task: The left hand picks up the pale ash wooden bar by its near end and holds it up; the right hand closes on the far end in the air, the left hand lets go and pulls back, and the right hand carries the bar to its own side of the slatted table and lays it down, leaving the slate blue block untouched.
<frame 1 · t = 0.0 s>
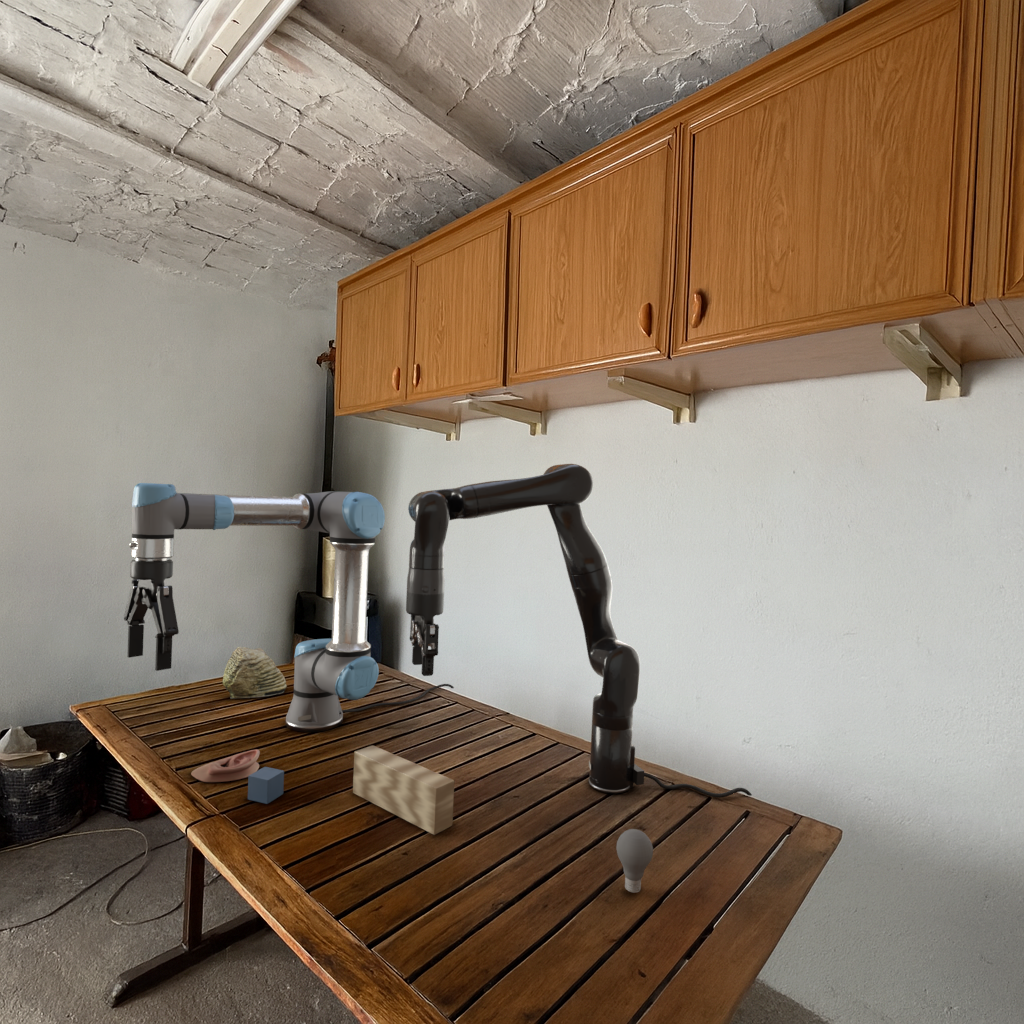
left hand: (148, 662, 129), 28 cm above the table, fingers open, 13 cm apart
right hand: (422, 669, 128), 29 cm above the table, fingers open, 8 cm apart
light bulb: (632, 891, 106), on the table
ash bar: (400, 808, 130), on the table
anatomical model: (225, 772, 143), on the table
fossil: (254, 694, 198), on the table
slate blue block: (265, 796, 133), on the table
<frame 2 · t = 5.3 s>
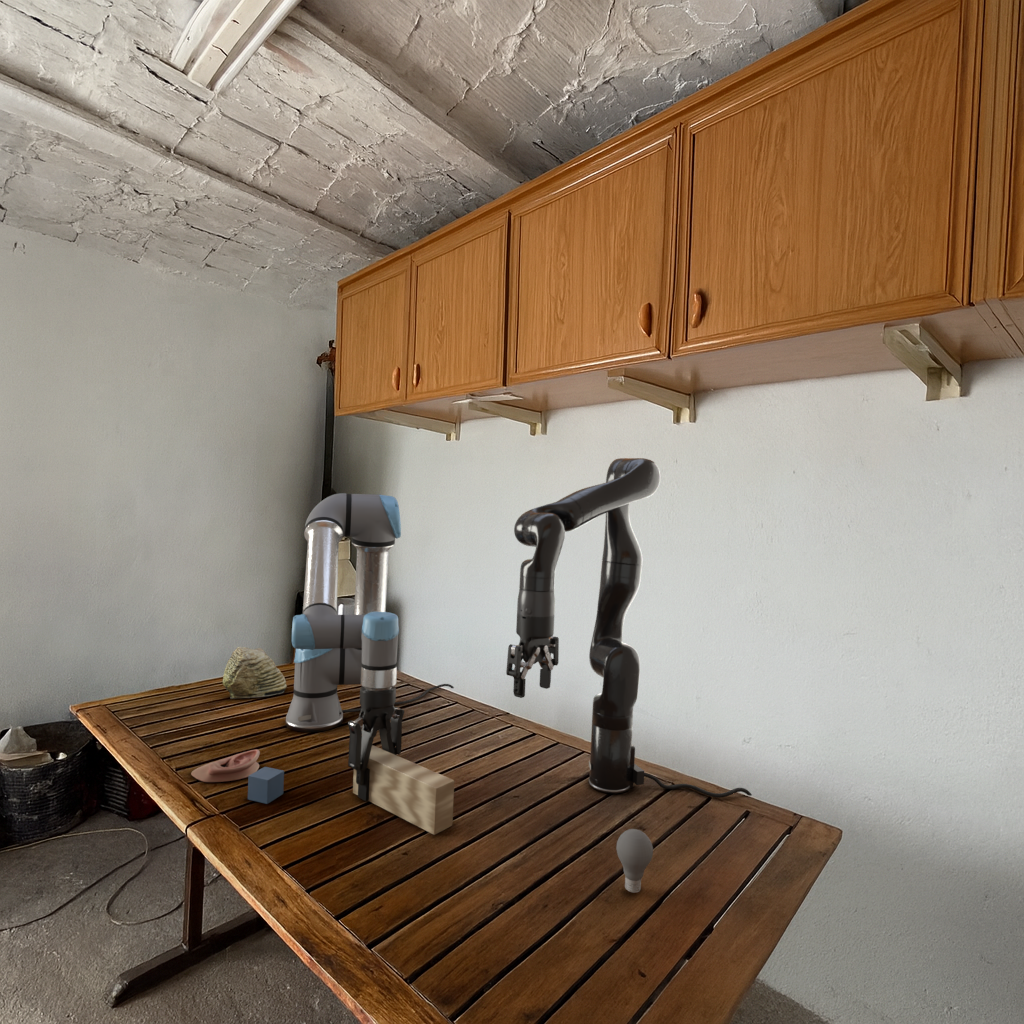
left hand: (374, 793, 136), 0 cm above the table, fingers closed on ash bar, 5 cm apart
right hand: (532, 692, 127), 26 cm above the table, fingers open, 8 cm apart
ash bar: (400, 808, 130), on the table, touching left hand
everything else where it was.
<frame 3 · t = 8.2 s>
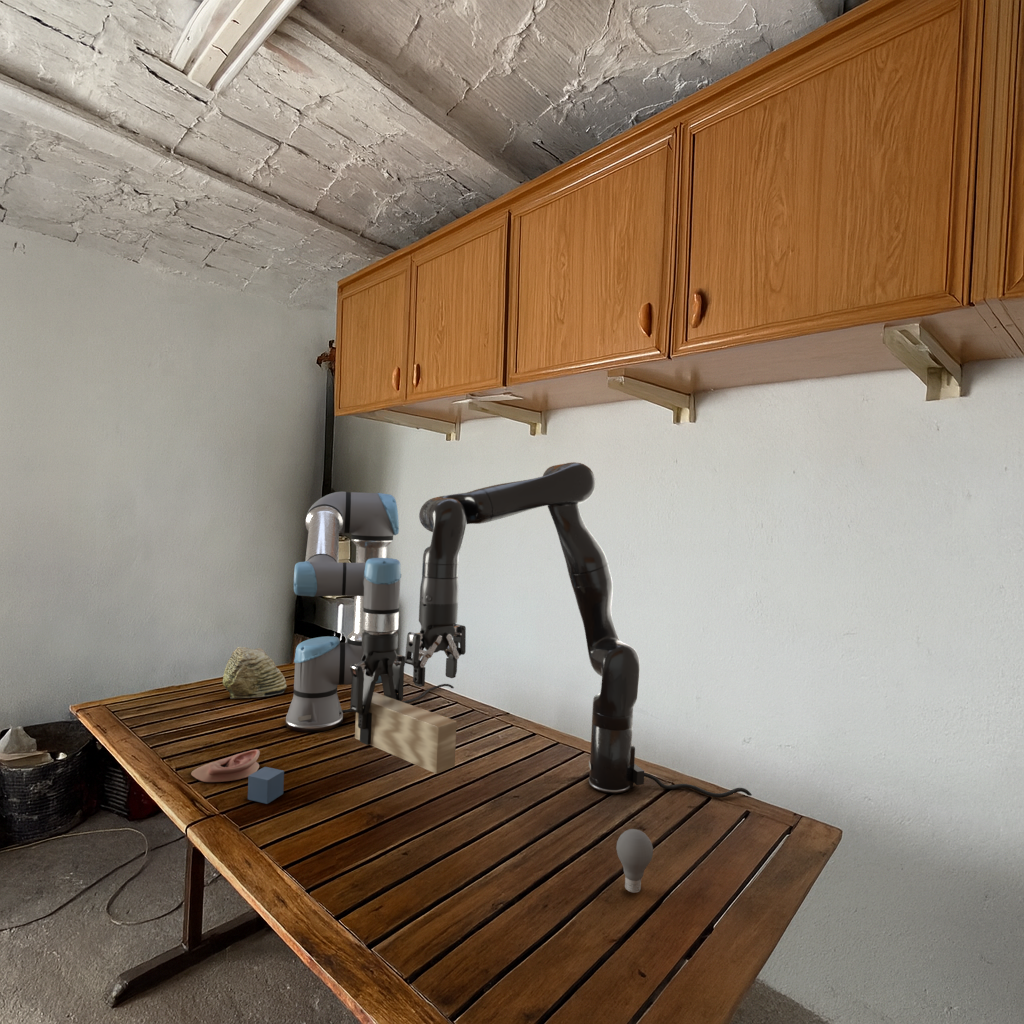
left hand: (376, 739, 135), 12 cm above the table, fingers closed on ash bar, 5 cm apart
right hand: (435, 681, 124), 28 cm above the table, fingers open, 8 cm apart
ash bar: (402, 751, 130), point 12 cm above the table, touching left hand
everything else where it was.
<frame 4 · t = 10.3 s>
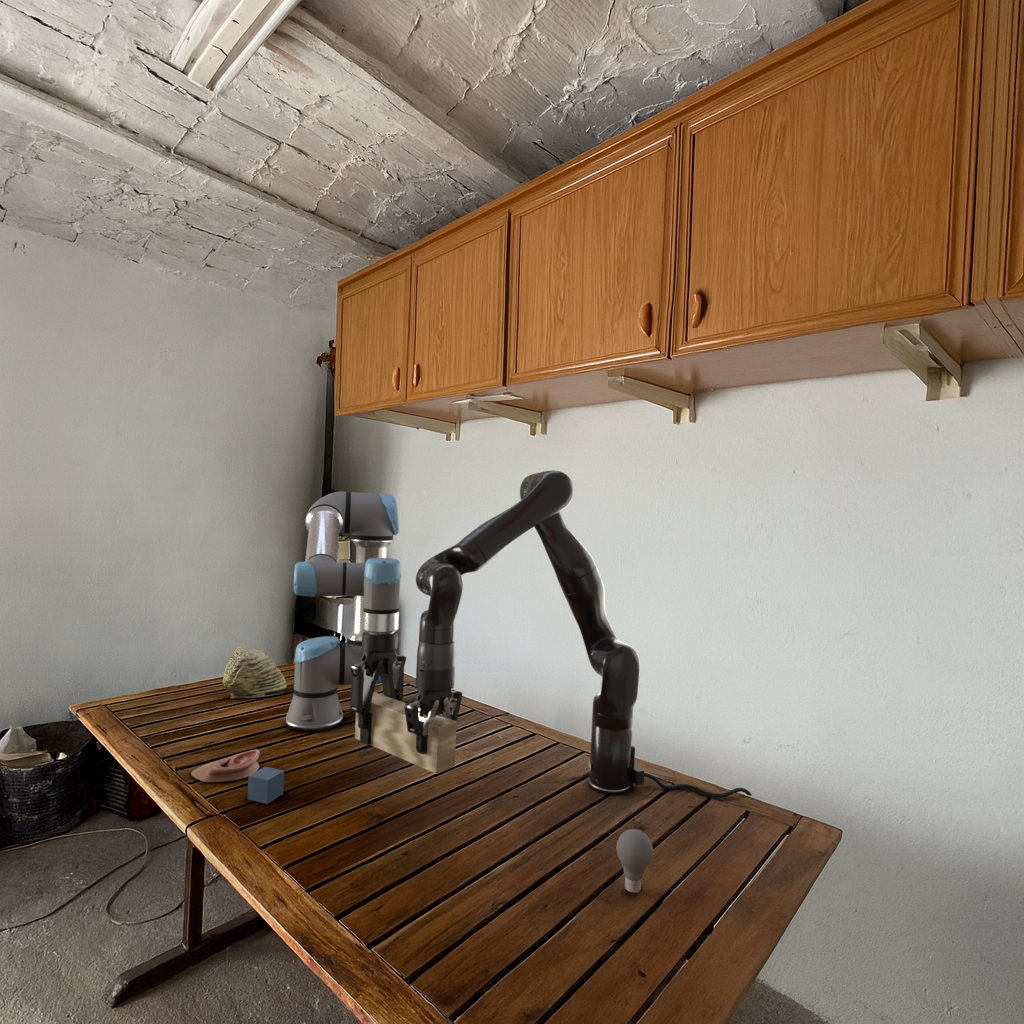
left hand: (376, 739, 135), 12 cm above the table, fingers closed on ash bar, 5 cm apart
right hand: (432, 748, 125), 15 cm above the table, fingers closed on ash bar, 5 cm apart
ash bar: (402, 751, 130), point 12 cm above the table, touching left hand, right hand
everything else where it was.
when the left hand's fingers open (12 cm above the table, at t = 11.2 s): ash bar stays where it is, held by the right hand.
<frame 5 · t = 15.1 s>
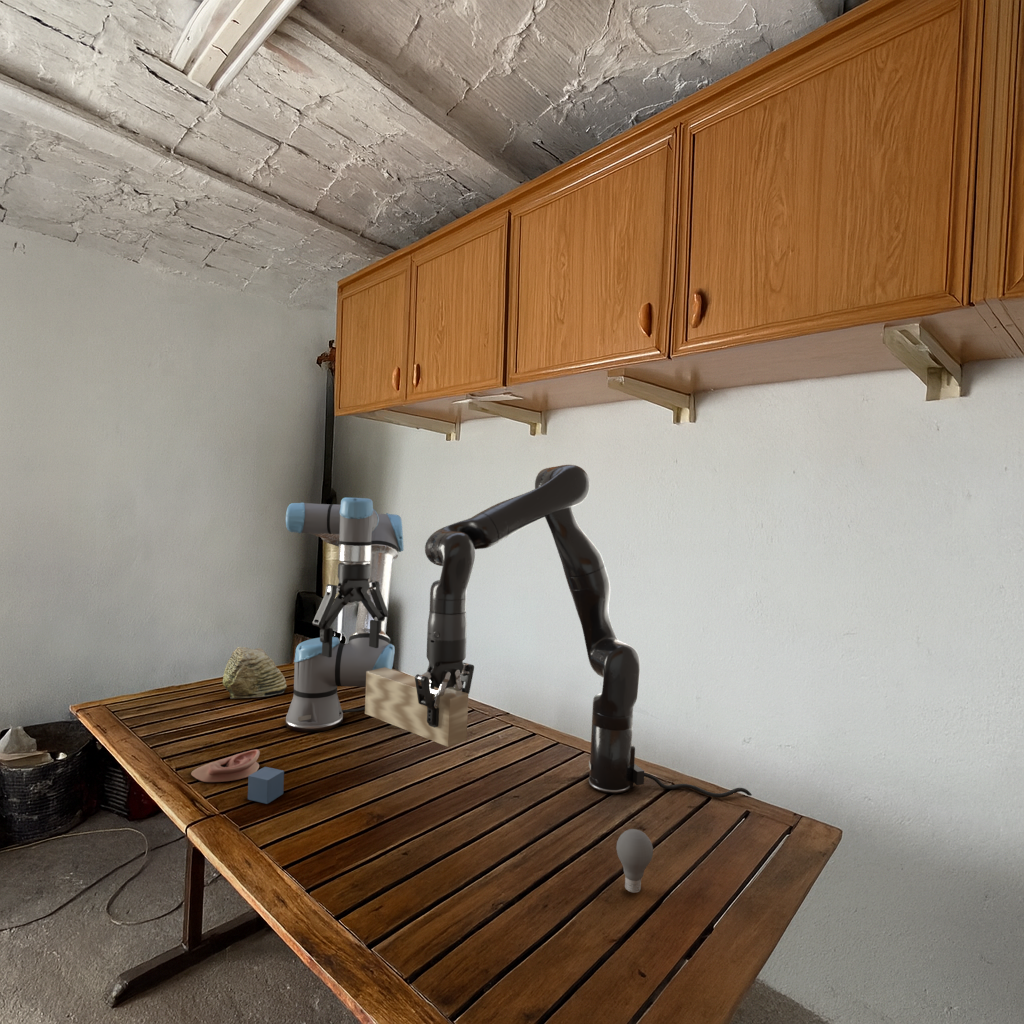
left hand: (351, 651, 151), 27 cm above the table, fingers open, 13 cm apart
right hand: (443, 722, 122), 21 cm above the table, fingers closed on ash bar, 5 cm apart
ash bar: (413, 726, 127), point 18 cm above the table, touching right hand
everything else where it was.
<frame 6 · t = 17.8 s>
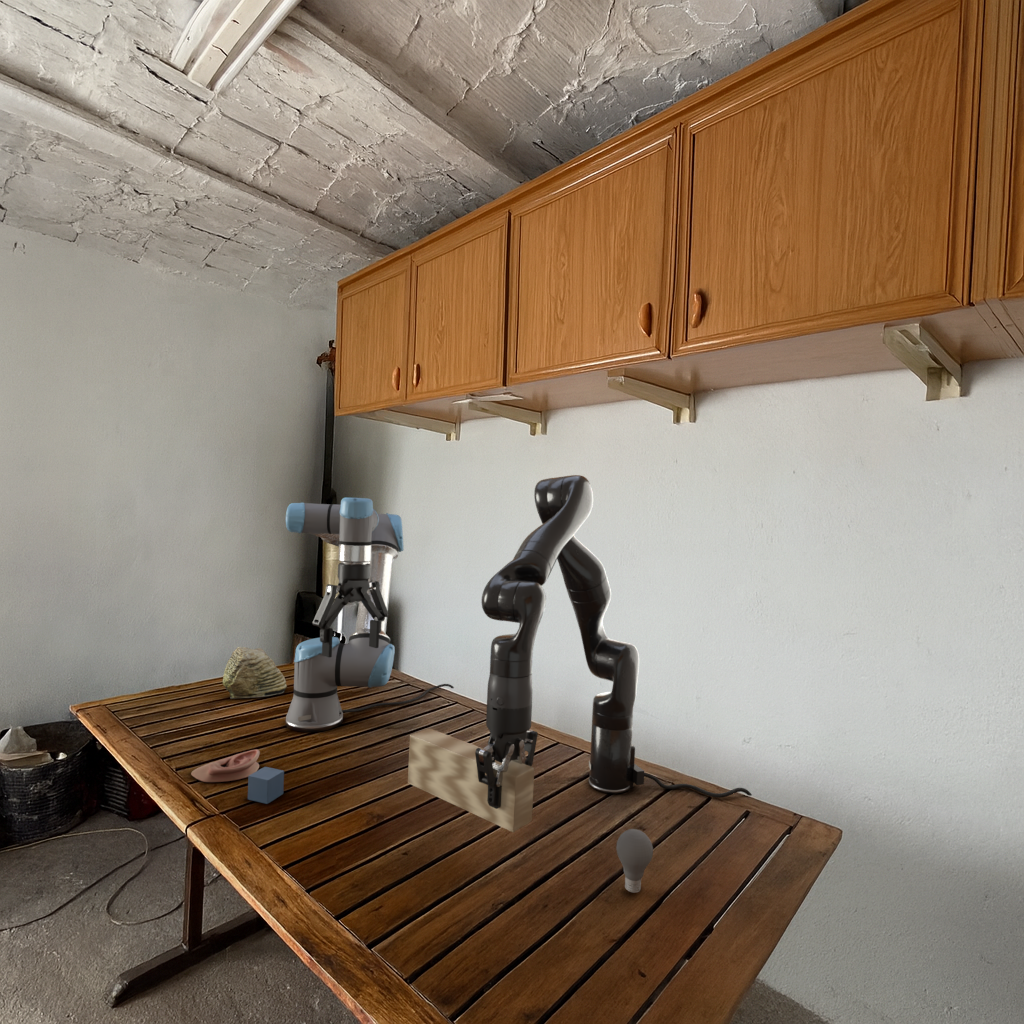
left hand: (351, 651, 151), 27 cm above the table, fingers open, 13 cm apart
right hand: (505, 800, 105), 14 cm above the table, fingers closed on ash bar, 5 cm apart
ash bar: (466, 801, 111), point 11 cm above the table, touching right hand
everything else where it was.
when the right hand's fingers open (4 cm above the table, at t = 20.0 s): ash bar drops 1 cm, on the table.
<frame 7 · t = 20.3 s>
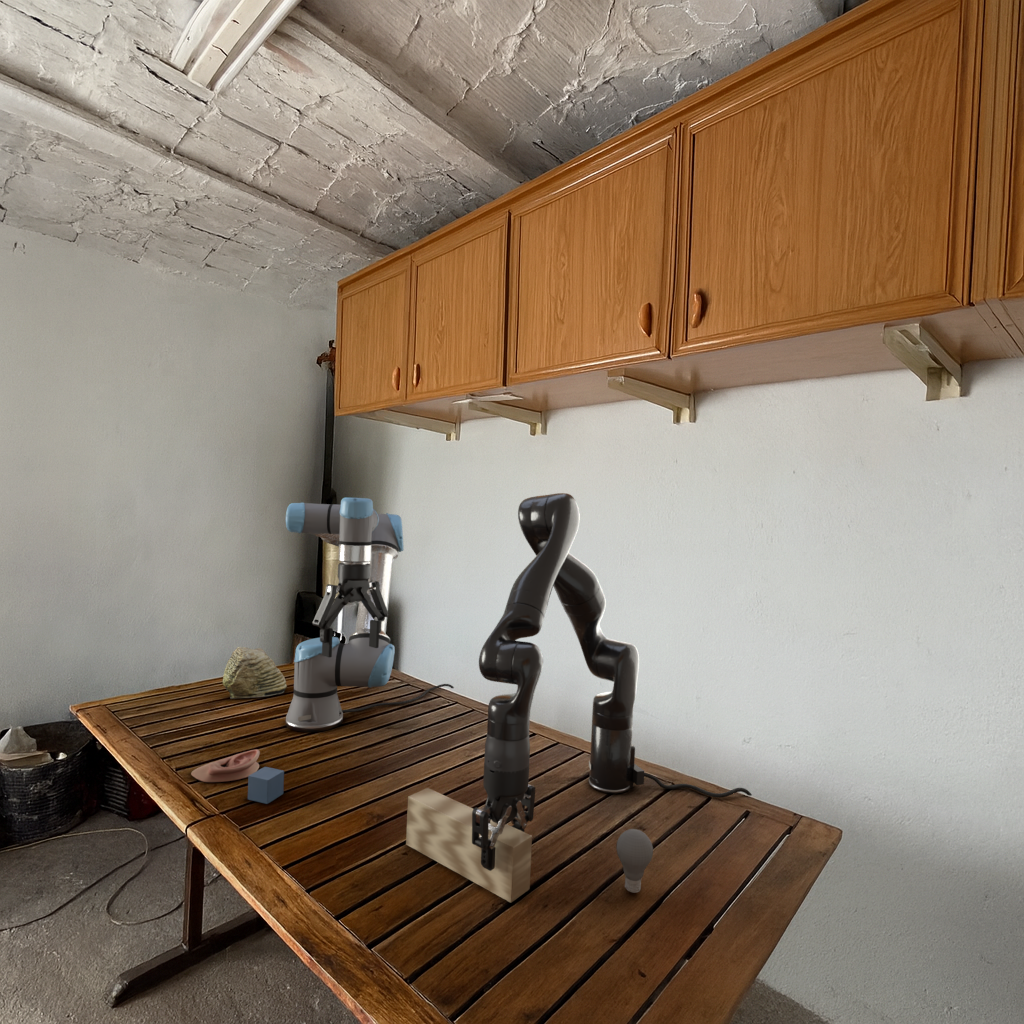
left hand: (351, 651, 151), 27 cm above the table, fingers open, 13 cm apart
right hand: (502, 858, 106), 5 cm above the table, fingers open, 7 cm apart
ash bar: (464, 865, 111), on the table
everything else where it was.
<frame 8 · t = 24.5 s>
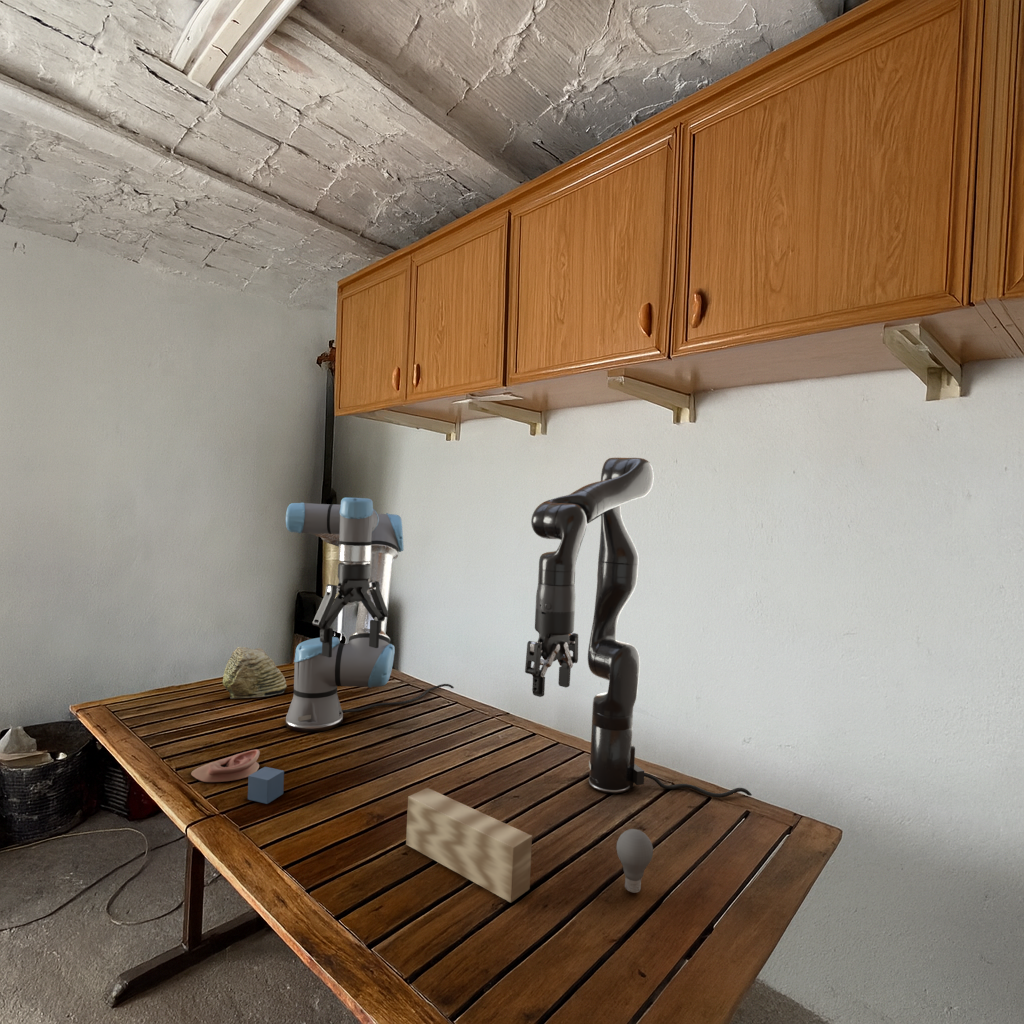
left hand: (351, 651, 151), 27 cm above the table, fingers open, 13 cm apart
right hand: (551, 691, 122), 28 cm above the table, fingers open, 8 cm apart
nothing on the table moved.
at the end: ash bar inside the target area (0.1 cm from its centre), on the table; both hands held the ash bar at the same time; the left hand is holding nothing; the right hand is holding nothing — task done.
